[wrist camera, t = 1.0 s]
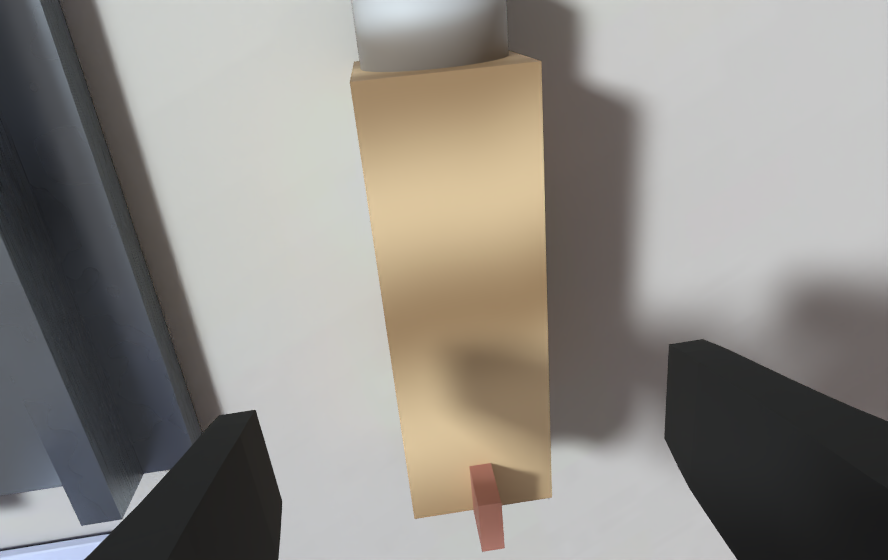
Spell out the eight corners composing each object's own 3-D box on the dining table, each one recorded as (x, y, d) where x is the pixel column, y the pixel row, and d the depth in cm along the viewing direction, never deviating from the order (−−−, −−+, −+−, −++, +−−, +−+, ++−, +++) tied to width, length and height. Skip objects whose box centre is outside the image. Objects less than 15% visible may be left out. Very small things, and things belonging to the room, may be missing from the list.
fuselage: (514, 397, 22) (567, 538, 17) (404, 413, 22) (418, 562, 16) (491, -34, 17) (560, -54, 11) (342, -19, 16) (329, -31, 10)
